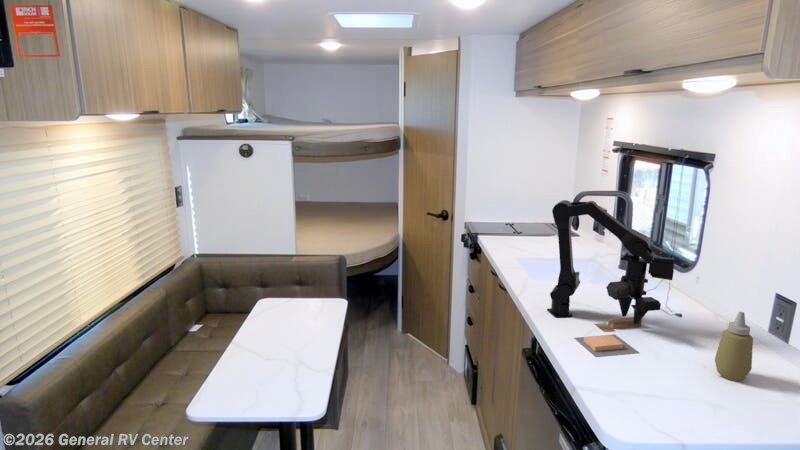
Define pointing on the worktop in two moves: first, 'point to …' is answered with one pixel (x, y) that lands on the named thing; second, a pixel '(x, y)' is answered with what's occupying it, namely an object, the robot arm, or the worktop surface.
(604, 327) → the turner
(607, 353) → the mat
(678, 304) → the worktop surface
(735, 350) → the squeeze bottle
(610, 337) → the tile
